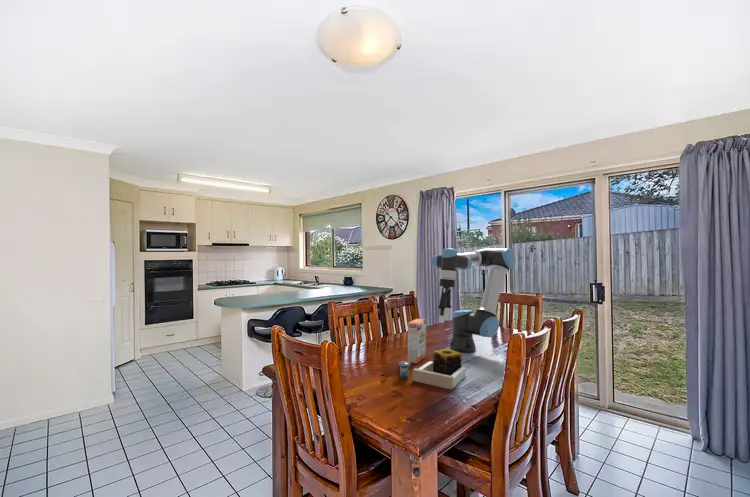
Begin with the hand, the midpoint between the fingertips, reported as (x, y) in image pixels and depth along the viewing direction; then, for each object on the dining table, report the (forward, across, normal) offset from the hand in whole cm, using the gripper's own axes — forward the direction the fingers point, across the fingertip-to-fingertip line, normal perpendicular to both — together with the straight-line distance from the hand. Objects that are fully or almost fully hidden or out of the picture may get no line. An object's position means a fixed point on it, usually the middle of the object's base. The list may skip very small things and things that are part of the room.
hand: (443, 321), depth 173 cm
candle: (+24, +4, +4) cm, 25 cm away
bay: (+25, +11, +3) cm, 27 cm away
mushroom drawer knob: (+26, +17, -13) cm, 34 cm away
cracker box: (+23, -11, -14) cm, 29 cm away
